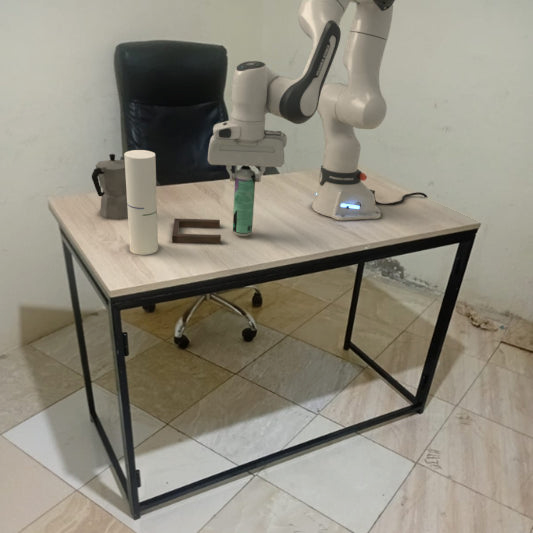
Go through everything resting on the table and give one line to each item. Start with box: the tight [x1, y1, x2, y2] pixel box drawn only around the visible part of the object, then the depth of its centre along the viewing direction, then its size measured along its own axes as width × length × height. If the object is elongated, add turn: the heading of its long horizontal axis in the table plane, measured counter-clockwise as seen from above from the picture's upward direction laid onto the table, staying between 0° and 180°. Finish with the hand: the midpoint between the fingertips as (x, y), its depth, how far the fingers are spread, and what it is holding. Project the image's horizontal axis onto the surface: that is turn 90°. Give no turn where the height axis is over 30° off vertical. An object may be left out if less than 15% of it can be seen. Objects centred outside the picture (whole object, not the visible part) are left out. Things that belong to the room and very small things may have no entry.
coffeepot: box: [91, 153, 128, 220], centre depth 145 cm, size 15×9×18 cm, turn 158°
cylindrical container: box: [123, 149, 159, 256], centre depth 125 cm, size 7×7×25 cm
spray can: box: [232, 166, 256, 237], centre depth 138 cm, size 6×6×20 cm
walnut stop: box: [171, 217, 222, 245], centre depth 141 cm, size 13×12×2 cm
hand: (244, 181), depth 136 cm, fingers closed on spray can, 5 cm apart
